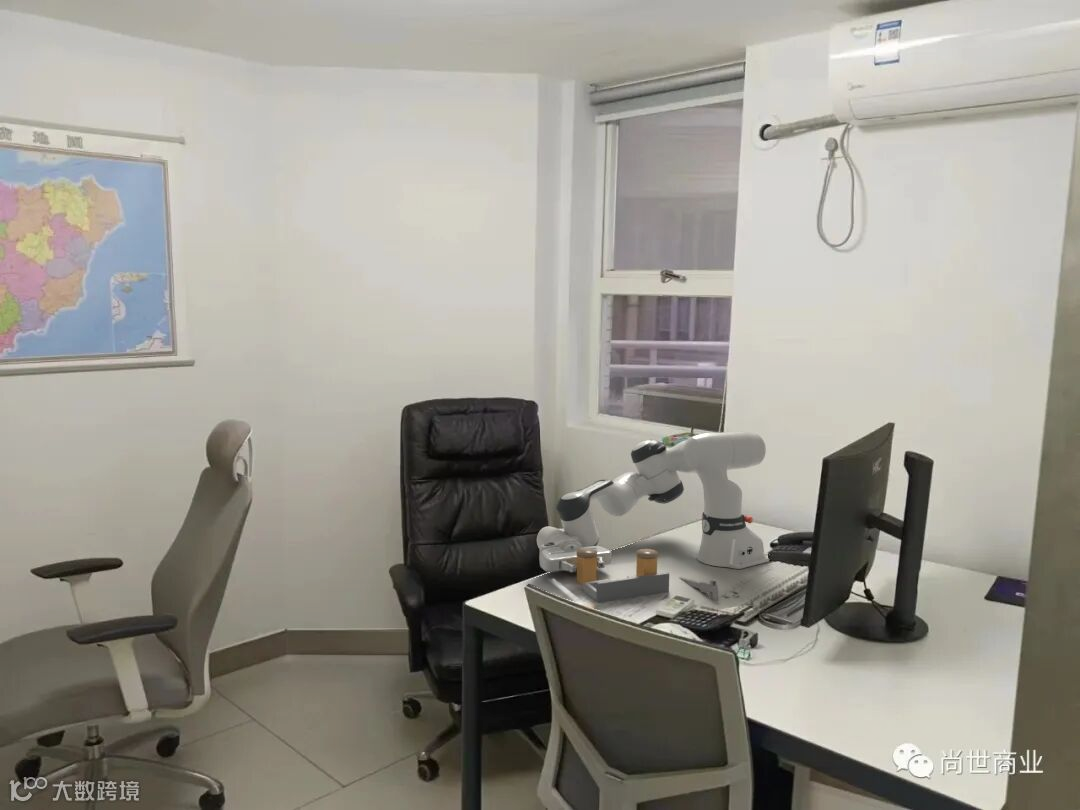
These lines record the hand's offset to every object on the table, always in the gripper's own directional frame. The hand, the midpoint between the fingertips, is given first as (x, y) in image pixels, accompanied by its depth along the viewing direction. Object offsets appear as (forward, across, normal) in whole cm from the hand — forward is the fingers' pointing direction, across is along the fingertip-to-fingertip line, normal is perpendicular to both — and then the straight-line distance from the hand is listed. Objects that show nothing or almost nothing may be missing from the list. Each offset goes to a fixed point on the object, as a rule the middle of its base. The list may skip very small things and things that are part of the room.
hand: (588, 567), depth 219 cm
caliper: (+14, -25, -6) cm, 30 cm away
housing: (+9, -6, -6) cm, 12 cm away
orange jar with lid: (+9, -13, -4) cm, 16 cm away
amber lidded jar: (-1, 0, -6) cm, 6 cm away
